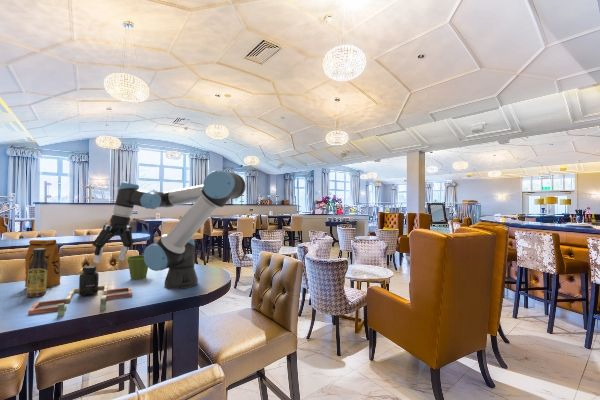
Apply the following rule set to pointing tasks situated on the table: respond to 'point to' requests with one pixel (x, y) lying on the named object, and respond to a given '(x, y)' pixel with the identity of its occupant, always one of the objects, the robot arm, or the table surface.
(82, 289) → the supplement bottle
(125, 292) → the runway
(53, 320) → the table surface
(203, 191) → the robot arm
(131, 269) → the plant pot
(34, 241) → the coffee package
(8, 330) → the table surface
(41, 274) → the sauce bottle
